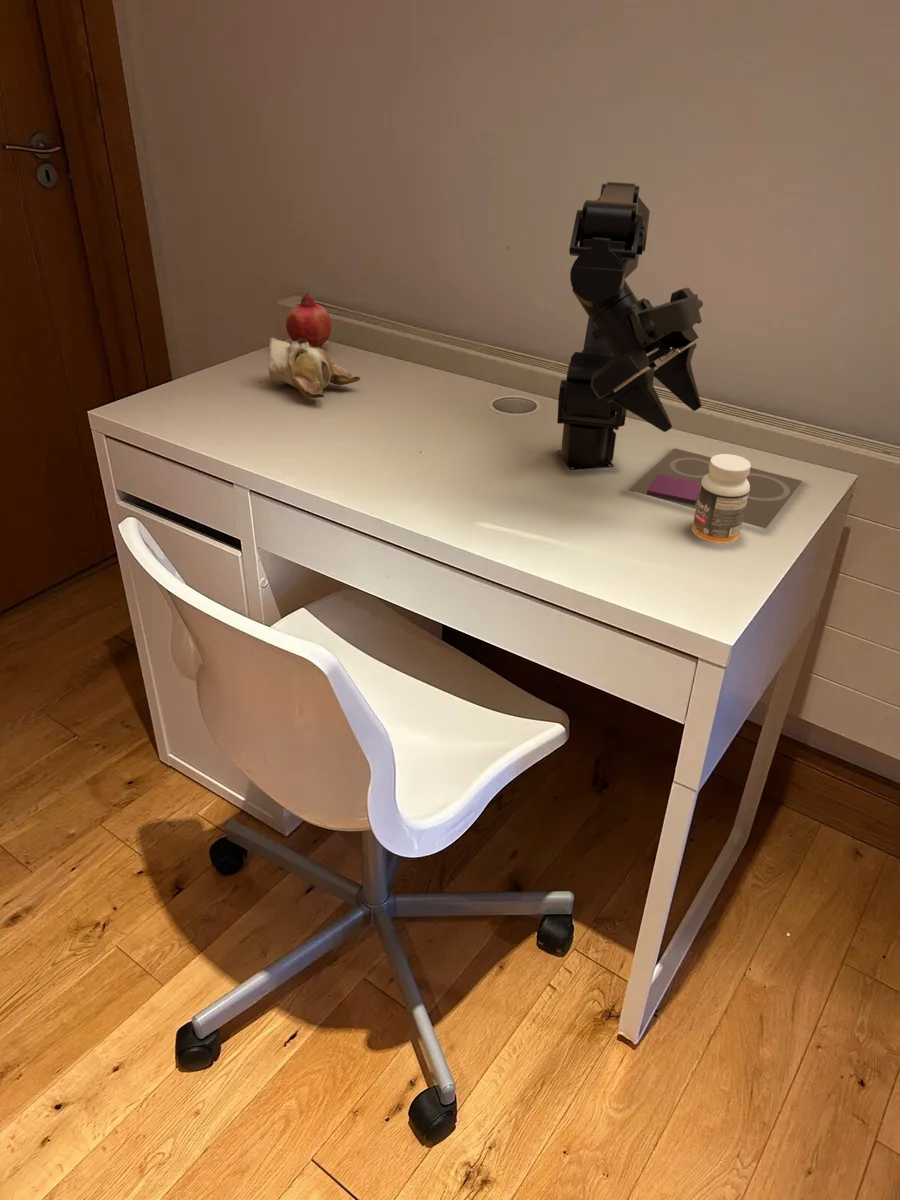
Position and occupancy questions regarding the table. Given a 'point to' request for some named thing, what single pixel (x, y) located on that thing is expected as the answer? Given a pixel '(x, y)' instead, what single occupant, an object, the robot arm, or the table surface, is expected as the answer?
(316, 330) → the fruit
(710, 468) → the pill bottle
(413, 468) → the table surface
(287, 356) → the ceramic sculpture
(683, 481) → the plum cloth
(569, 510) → the table surface
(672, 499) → the hob
